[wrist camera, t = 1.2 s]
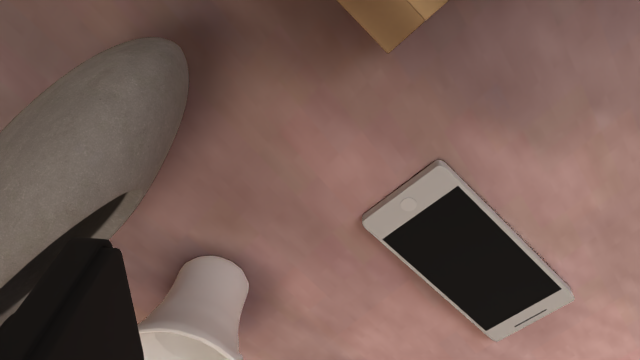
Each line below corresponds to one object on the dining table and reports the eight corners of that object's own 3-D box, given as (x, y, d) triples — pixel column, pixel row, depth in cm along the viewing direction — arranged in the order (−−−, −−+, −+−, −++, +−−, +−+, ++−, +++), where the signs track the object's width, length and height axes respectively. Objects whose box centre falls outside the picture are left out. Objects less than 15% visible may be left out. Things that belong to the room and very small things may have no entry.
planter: (101, 219, 42) (-66, 458, 26) (16, 160, 40) (-223, 381, 24) (259, 47, 34) (158, 240, 18) (163, -39, 32) (-49, 93, 16)
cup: (290, 304, 45) (270, 415, 36) (188, 327, 47) (147, 435, 39) (244, 217, 41) (210, 319, 32) (135, 247, 43) (76, 349, 34)
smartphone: (440, 156, 37) (441, 164, 36) (574, 290, 41) (577, 300, 41) (359, 216, 40) (359, 224, 39) (493, 334, 45) (495, 344, 44)
